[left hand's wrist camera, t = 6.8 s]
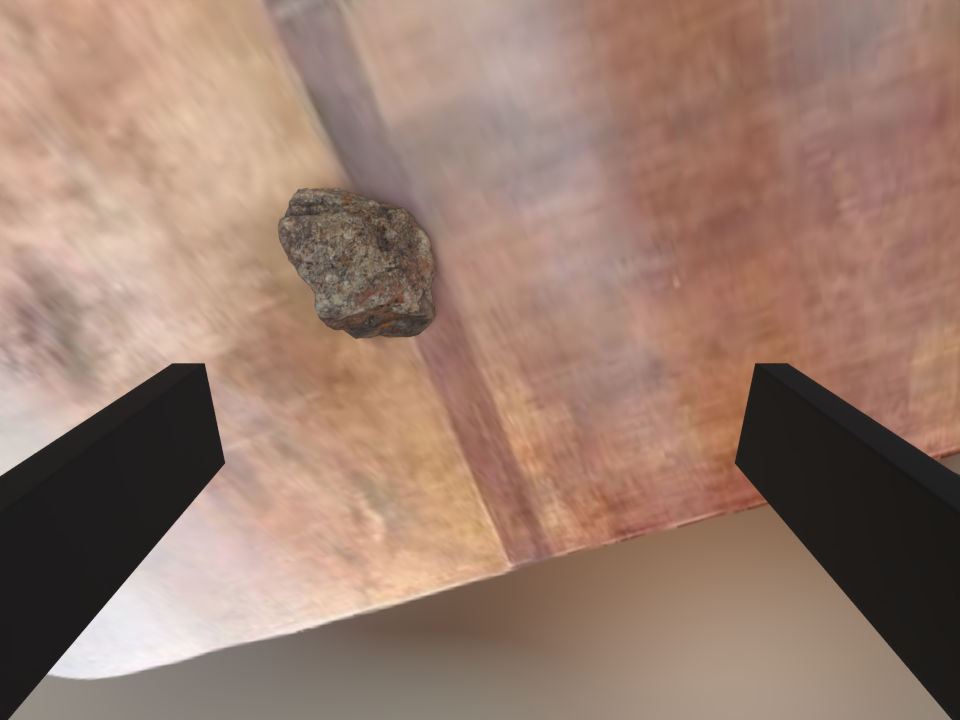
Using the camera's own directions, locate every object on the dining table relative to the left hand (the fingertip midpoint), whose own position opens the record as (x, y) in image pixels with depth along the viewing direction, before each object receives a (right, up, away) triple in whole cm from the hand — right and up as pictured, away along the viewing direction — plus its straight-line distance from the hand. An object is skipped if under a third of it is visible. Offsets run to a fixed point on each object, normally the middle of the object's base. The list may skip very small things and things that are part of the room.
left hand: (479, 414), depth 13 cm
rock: (-9, +10, +33) cm, 36 cm away
